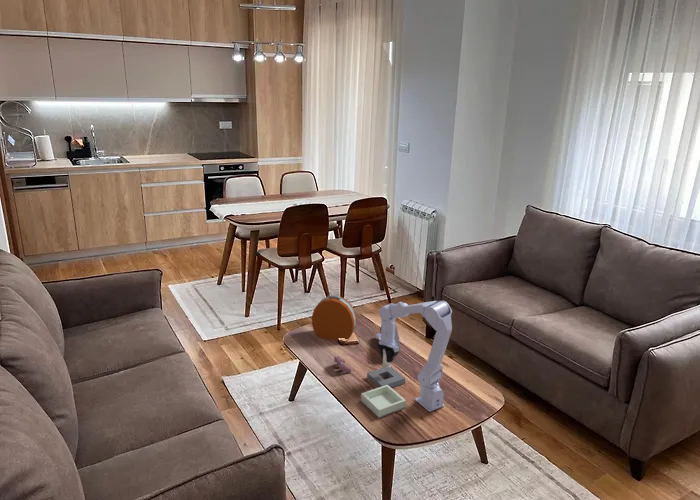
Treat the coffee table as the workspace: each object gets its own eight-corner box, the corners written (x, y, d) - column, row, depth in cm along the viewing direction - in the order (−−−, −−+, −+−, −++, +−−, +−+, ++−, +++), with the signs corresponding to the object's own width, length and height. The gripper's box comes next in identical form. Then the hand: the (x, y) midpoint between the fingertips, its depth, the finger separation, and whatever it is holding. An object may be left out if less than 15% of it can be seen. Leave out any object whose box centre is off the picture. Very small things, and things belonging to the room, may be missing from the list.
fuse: (392, 367, 218) (392, 350, 215) (385, 369, 216) (386, 353, 213) (387, 363, 221) (388, 347, 218) (380, 365, 219) (381, 349, 216)
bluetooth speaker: (400, 360, 237) (401, 341, 234) (380, 359, 237) (381, 340, 234) (397, 337, 259) (397, 320, 256) (379, 337, 259) (379, 319, 256)
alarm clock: (357, 334, 262) (358, 294, 255) (352, 342, 253) (353, 301, 246) (317, 328, 267) (317, 289, 260) (311, 336, 258) (311, 296, 251)
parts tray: (405, 407, 201) (406, 400, 200) (378, 417, 195) (379, 410, 194) (387, 391, 212) (387, 384, 211) (361, 400, 206) (361, 393, 205)
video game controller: (336, 366, 234) (330, 356, 231) (345, 361, 235) (338, 350, 232) (344, 377, 225) (337, 366, 222) (352, 372, 226) (346, 360, 223)
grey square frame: (405, 383, 218) (405, 378, 218) (382, 391, 213) (382, 385, 212) (389, 370, 228) (389, 365, 227) (367, 377, 222) (367, 372, 222)
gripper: (370, 326, 217) (369, 354, 221) (389, 340, 205) (388, 369, 209) (384, 323, 220) (383, 350, 225) (403, 336, 209) (402, 365, 213)
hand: (386, 359), depth 217 cm, fingers closed on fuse, 3 cm apart
